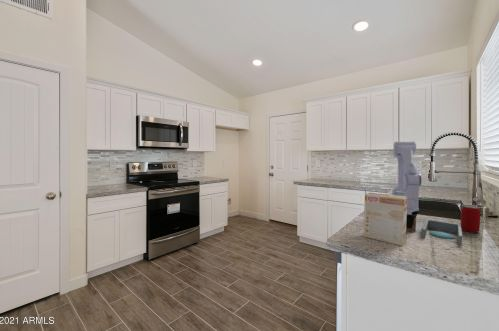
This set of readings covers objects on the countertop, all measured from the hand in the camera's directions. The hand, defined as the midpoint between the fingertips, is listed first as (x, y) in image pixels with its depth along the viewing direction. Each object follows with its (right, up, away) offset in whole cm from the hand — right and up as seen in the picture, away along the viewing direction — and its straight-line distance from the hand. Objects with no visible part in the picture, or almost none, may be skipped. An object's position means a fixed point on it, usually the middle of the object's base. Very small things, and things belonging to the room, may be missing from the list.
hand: (410, 226), depth 113 cm
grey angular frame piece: (+10, -2, -7) cm, 12 cm away
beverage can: (+28, -2, -1) cm, 29 cm away
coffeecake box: (-20, -3, -12) cm, 23 cm away
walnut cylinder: (0, -2, 0) cm, 2 cm away
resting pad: (+10, -2, -7) cm, 12 cm away
